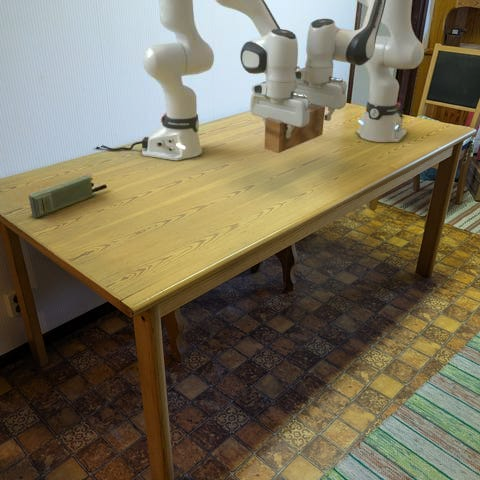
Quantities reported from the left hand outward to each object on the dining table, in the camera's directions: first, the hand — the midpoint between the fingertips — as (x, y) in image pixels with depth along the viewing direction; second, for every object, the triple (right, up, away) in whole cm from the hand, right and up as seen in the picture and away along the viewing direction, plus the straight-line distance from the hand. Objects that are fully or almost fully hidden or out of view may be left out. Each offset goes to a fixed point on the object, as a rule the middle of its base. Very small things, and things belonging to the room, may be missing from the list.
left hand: (278, 134), depth 156 cm
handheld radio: (-62, -21, -5) cm, 66 cm away
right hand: (+13, +8, +13) cm, 20 cm away
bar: (+6, -1, +8) cm, 10 cm away
